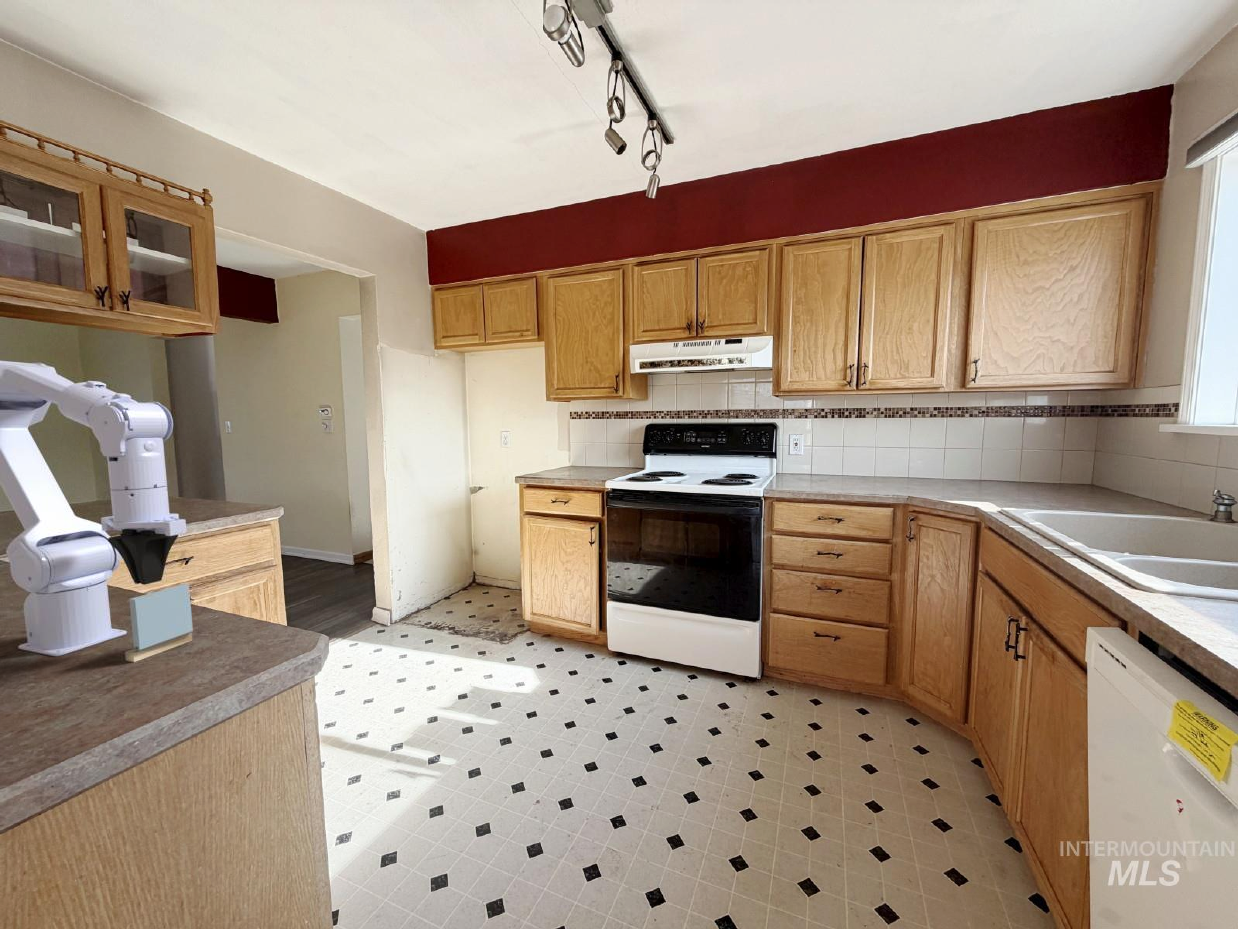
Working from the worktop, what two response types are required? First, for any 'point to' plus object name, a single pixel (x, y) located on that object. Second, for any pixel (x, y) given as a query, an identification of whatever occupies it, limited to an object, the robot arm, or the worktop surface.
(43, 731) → the worktop surface
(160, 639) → the panel
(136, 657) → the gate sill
